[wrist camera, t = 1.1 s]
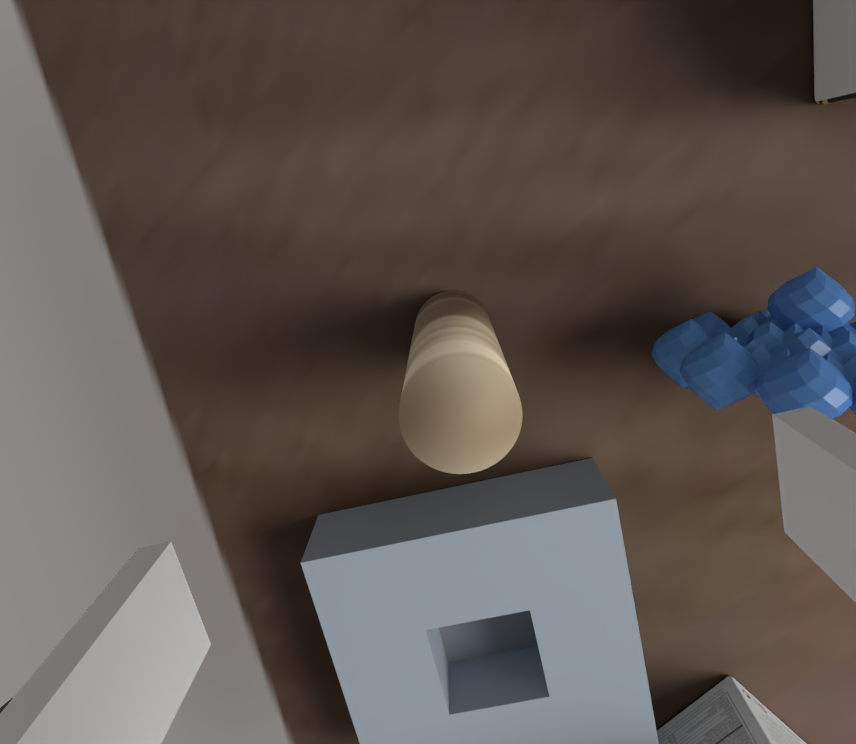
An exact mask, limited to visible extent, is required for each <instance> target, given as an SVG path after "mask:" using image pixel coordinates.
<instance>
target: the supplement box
mask: <svg viewBox="0 0 856 744" xmlns="http://www.w3.org/2000/svg"><path fill="white" fill-rule="evenodd" d="M657 736H658V741H659V744H806V743H805V742H804V741H803V740H802V739H801V738H799V737H798V736H797V735H796V734H795V733H794V732H793V731H792V730H791V729H789V728H788V727H787V726H786V725H785V724H784V723H783V722H782V721H781V720H780V719H778V718H777V717H776V716H775V715H774V714H773V713H772V712H770V711H769V710H768V709H767V708H766V707H765V706H764V705H763V704H762V703H760V702H759V701H758V700H757V699H756V698H755V697H754V696H753V695H752V694H750V693H749V692H748V691H747V690H746V689H745V688H744V687H743V686H742V685H741V684H739V683H738V682H737V681H736V680H735V679H734V678H733V677H731V676H728V677H726V678H725V679H724V680H722V681H721V682H720V683H718V684H717V685H716V686H715V687H713V688H712V689H711V690H709V691H708V692H707V693H705V694H704V695H703V696H702V697H700V698H699V699H698V700H696V701H695V702H694V703H692V704H691V705H690V706H688V707H687V708H686V709H685V710H683V711H682V712H681V713H679V714H678V715H677V716H675V717H674V718H673V719H672V720H670V721H669V722H668V723H666V724H665V725H664V726H662V727H661V728H660V729H658V730H657Z"/></svg>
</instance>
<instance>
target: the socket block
mask: <svg viewBox="0 0 856 744" xmlns="http://www.w3.org/2000/svg"><path fill="white" fill-rule="evenodd" d="M301 566H302V569H303V572H304V575H305V578H306V581H307V584H308V587H309V590H310V593H311V596H312V599H313V602H314V605H315V609H316V612H317V615H318V618H319V621H320V624H321V627H322V630H323V633H324V636H325V639H326V642H327V645H328V648H329V651H330V654H331V657H332V660H333V663H334V666H335V670H336V673H337V676H338V679H339V682H340V685H341V688H342V691H343V694H344V697H345V700H346V703H347V706H348V709H349V712H350V715H351V718H352V721H353V724H354V727H355V730H356V734H357V737H358V740H359V743H360V744H659V741H658V736H657V730H656V724H655V719H654V713H653V707H652V702H651V696H650V690H649V684H648V679H647V673H646V667H645V662H644V656H643V650H642V645H641V639H640V633H639V628H638V622H637V616H636V610H635V605H634V599H633V593H632V588H631V582H630V576H629V571H628V565H627V559H626V554H625V548H624V542H623V536H622V531H621V525H620V519H619V514H618V508H617V502H616V498H615V496H614V495H613V493H612V491H611V489H610V488H609V486H608V484H607V482H606V481H605V479H604V477H603V475H602V474H601V472H600V470H599V468H598V467H597V465H596V463H595V461H594V460H593V458H589V459H584V460H579V461H575V462H570V463H565V464H560V465H555V466H551V467H546V468H541V469H536V470H532V471H527V472H522V473H517V474H512V475H508V476H503V477H498V478H493V479H488V480H484V481H479V482H474V483H469V484H465V485H460V486H455V487H450V488H445V489H441V490H436V491H431V492H426V493H421V494H417V495H412V496H407V497H402V498H398V499H393V500H388V501H383V502H378V503H374V504H369V505H364V506H359V507H354V508H350V509H345V510H340V511H335V512H331V513H326V514H321V515H318V517H317V520H316V523H315V525H314V528H313V531H312V534H311V536H310V539H309V542H308V544H307V547H306V550H305V552H304V555H303V558H302V560H301Z"/></svg>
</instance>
